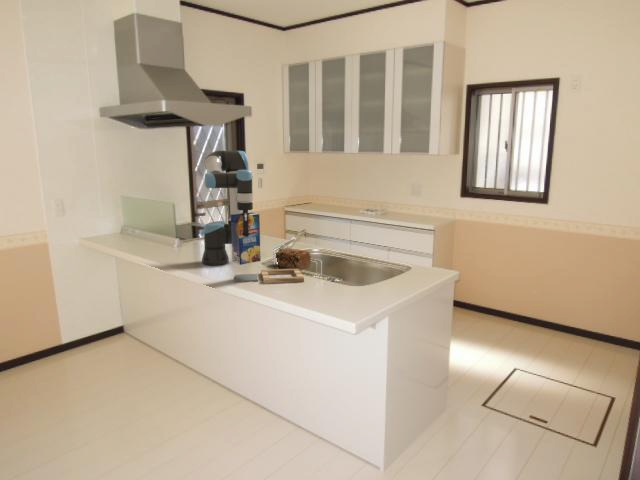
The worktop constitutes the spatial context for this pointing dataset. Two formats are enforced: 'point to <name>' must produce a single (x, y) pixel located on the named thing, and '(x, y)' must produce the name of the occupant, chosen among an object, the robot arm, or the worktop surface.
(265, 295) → the worktop surface
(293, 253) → the bread
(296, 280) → the board
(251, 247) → the juice carton
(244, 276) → the plate
